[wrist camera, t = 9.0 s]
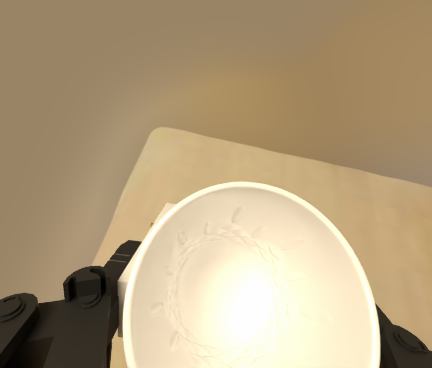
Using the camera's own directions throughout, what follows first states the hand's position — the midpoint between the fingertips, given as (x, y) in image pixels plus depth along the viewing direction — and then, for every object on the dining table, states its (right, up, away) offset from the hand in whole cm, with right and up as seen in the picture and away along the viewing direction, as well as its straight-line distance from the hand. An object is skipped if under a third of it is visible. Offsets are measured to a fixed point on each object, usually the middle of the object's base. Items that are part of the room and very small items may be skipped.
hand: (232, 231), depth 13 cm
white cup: (-1, -5, +2) cm, 5 cm away
